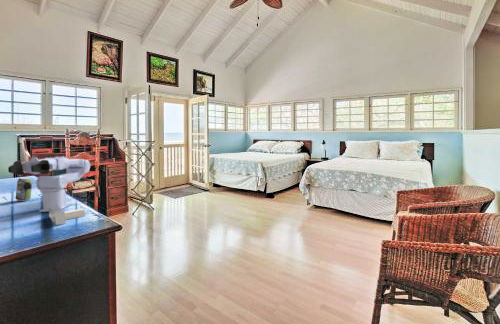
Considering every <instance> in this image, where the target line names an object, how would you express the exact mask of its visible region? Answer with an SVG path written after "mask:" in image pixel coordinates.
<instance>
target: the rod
mask: <svg viewBox="0 0 500 324" xmlns="http://www.w3.org/2000/svg"><path fill="white" fill-rule="evenodd" d="M64 212H65V221H67V220H71V219H76V218H82V217H86V212H85V209H84V208H76V209H72V210H71V209H70V210H67V211H64ZM51 216H52V220H51V221H52V223H54V219H53V214H51Z"/></svg>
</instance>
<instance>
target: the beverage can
mask: <svg viewBox="0 0 500 324" xmlns="http://www.w3.org/2000/svg"><path fill="white" fill-rule="evenodd" d="M16 182H17V183H16V190H15V199H16V200H17V201H20V202H21V201H22V202H25V201H29V200H31V197H32V188H33V180H32V178H31V177H18V179H17V180H16Z"/></svg>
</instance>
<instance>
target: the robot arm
mask: <svg viewBox="0 0 500 324" xmlns="http://www.w3.org/2000/svg"><path fill="white" fill-rule="evenodd" d="M7 169H8V173H10V174H15V175H16V176H19V175H20V176H22V175H24V173H28V174H32V175H39V174H43V175H44V176H43V175H41V176H40V175H39V176H38V177H37V179H36V181H35V186H36V188H37V190H39V192H40V193H41V194H42V195H41V196H42V205H43V208H42V209H39V210H38V212H39V213H42V212H43V213H47V212H48V213H49V206H52V205H58V206H59V207H60V208H61V209H62V210H64V209H65V208H68V207H69V204H67V202H68V201H67V194H66V191H65V190H64V188H65V187H66V186H67V185H68V184H71V183H73V182H74V183H75V182H77V181H80V180H81V179H82V177H83V176H84V175H86V174H87V173H89V172H90V169H91V162H90V160H89V159H81V158H68V157H66V156H64V155H60V156H54V157H45V158H41V159H38V157H36V156H32V157H31V158H30V160H28V161H26V162H23V163H22V161H21V160H16V161H14V162H13V164H12V165H10V166H8V168H7ZM65 169H66V171H65V172H66V173H62V174H58V175H53V176H52V175H49V176H46V175H48V174H49V173H50V172H52V171H60V170H61V171H62V170H65ZM45 174H46V175H45Z"/></svg>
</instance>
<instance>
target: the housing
mask: <svg viewBox="0 0 500 324" xmlns="http://www.w3.org/2000/svg"><path fill="white" fill-rule="evenodd" d="M51 214H53V219H54V222H53V223H54V225H55V226H61V225H64V224H66V220H65V211H64V209H61V208H60V207H59V206H58V205H52V206H49V212H48V215H49V217H48V218H50V220H51V221H52V216H51Z"/></svg>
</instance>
